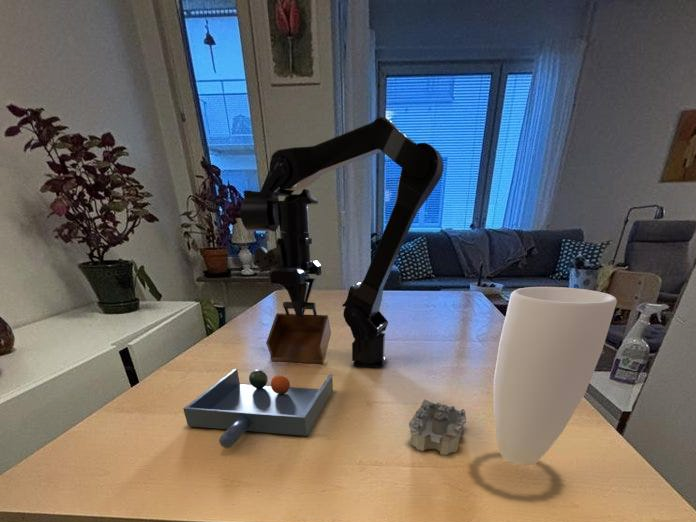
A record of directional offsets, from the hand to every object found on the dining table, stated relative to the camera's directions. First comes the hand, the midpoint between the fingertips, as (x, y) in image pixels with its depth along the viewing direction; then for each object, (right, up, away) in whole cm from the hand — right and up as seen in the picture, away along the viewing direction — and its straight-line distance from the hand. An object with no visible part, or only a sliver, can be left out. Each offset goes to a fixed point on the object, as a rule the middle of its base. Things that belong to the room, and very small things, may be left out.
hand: (300, 315), depth 87 cm
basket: (0, -6, +3) cm, 7 cm away
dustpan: (-3, -26, -22) cm, 34 cm away
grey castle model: (+25, -30, -27) cm, 48 cm away
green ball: (-6, -18, -13) cm, 23 cm away
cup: (+33, -36, -36) cm, 61 cm away
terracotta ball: (-1, -19, -15) cm, 25 cm away
